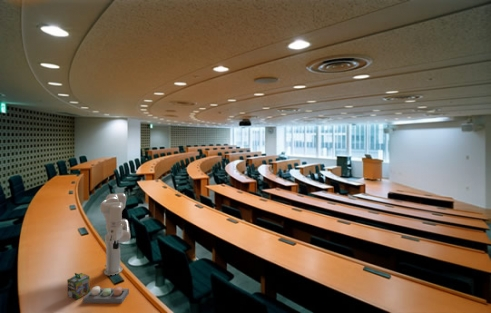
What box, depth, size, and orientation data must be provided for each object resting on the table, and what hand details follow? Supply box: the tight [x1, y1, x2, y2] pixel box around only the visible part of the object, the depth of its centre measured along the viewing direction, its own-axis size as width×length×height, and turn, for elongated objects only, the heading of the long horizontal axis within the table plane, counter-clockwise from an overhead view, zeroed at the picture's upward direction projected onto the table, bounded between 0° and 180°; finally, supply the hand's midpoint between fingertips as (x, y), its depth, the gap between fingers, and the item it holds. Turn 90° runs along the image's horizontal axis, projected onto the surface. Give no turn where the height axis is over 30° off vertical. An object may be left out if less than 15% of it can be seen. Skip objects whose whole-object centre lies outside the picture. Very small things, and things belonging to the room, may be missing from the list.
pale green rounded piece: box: [103, 287, 112, 297], centre depth 156 cm, size 5×5×4 cm
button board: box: [82, 287, 130, 304], centre depth 156 cm, size 24×10×3 cm, turn 92°
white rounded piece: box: [90, 285, 101, 296], centre depth 155 cm, size 5×5×4 cm
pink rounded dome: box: [113, 285, 123, 297], centre depth 156 cm, size 5×5×4 cm
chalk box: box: [67, 272, 91, 301], centre depth 158 cm, size 9×9×15 cm
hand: (115, 248), depth 167 cm, fingers closed
